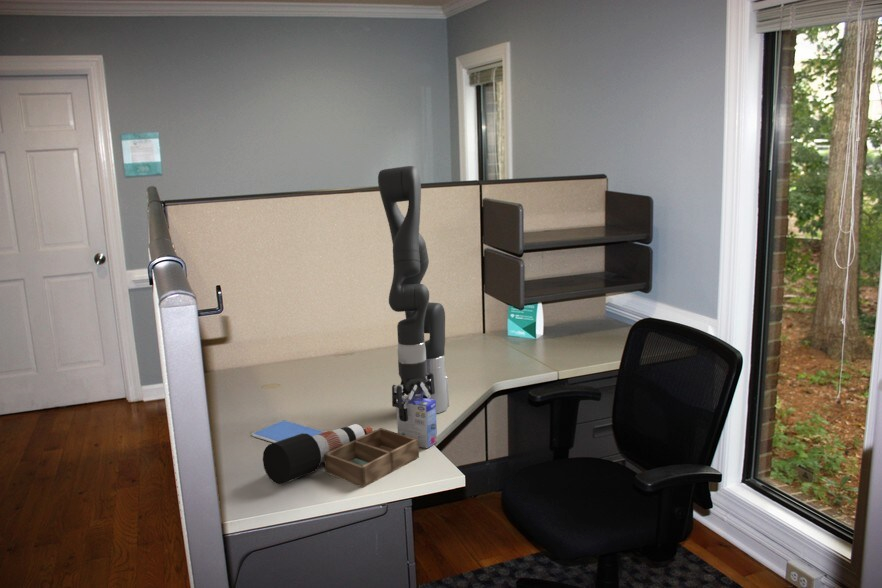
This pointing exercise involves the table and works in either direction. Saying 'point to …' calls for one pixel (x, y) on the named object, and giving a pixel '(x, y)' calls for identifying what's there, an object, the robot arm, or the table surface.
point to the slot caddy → (371, 456)
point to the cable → (305, 452)
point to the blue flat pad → (284, 431)
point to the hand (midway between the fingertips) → (414, 416)
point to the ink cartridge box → (420, 421)
